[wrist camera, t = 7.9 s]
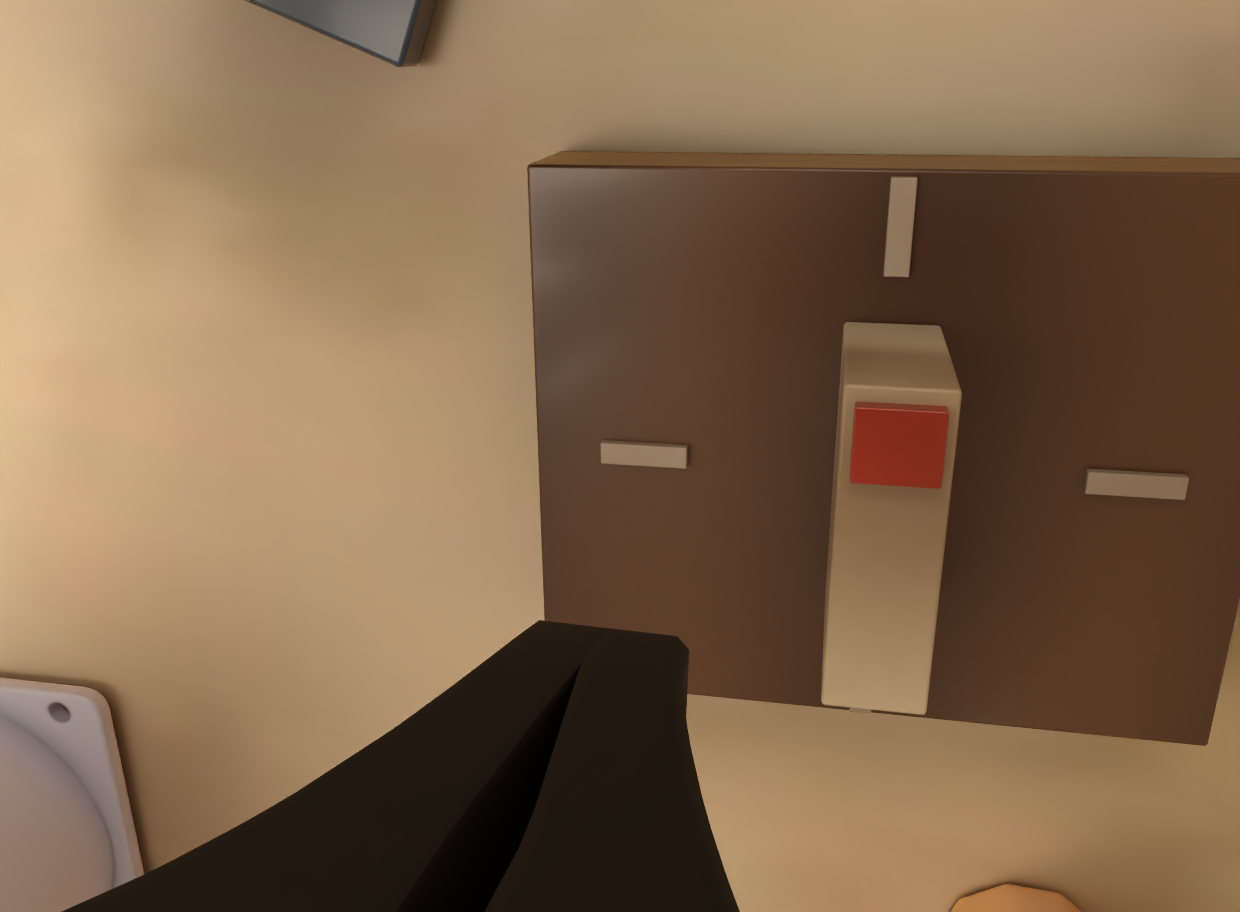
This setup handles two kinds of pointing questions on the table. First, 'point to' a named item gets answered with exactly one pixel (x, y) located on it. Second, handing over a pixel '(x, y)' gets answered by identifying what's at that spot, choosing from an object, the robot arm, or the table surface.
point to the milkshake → (1014, 901)
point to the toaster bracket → (364, 24)
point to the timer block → (987, 433)
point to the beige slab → (888, 515)
